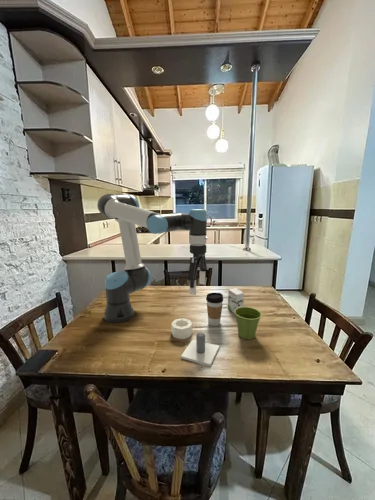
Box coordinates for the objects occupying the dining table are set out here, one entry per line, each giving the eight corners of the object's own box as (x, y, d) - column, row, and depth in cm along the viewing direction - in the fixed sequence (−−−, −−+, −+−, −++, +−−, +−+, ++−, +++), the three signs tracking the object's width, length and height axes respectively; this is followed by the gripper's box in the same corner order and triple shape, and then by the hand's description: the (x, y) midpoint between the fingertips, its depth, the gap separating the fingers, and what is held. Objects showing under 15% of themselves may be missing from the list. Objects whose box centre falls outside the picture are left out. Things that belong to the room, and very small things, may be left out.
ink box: (227, 308, 132) (227, 288, 129) (234, 306, 134) (235, 287, 131) (235, 314, 124) (236, 294, 122) (243, 313, 126) (244, 292, 124)
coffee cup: (222, 327, 112) (222, 298, 108) (204, 326, 113) (205, 297, 110) (223, 319, 120) (223, 292, 116) (206, 317, 121) (207, 290, 118)
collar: (168, 336, 105) (168, 326, 104) (177, 326, 113) (177, 317, 112) (186, 340, 101) (186, 330, 100) (194, 330, 110) (194, 320, 109)
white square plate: (181, 358, 90) (180, 339, 89) (192, 341, 101) (192, 324, 99) (210, 366, 86) (210, 347, 84) (219, 348, 96) (219, 330, 95)
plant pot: (256, 346, 97) (257, 321, 95) (229, 337, 103) (230, 314, 101) (263, 332, 107) (264, 310, 105) (238, 325, 113) (239, 304, 111)
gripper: (196, 250, 91) (196, 300, 95) (213, 240, 113) (212, 281, 118) (179, 248, 93) (179, 297, 98) (199, 239, 116) (198, 279, 120)
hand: (197, 288), depth 108 cm, fingers open, 13 cm apart
